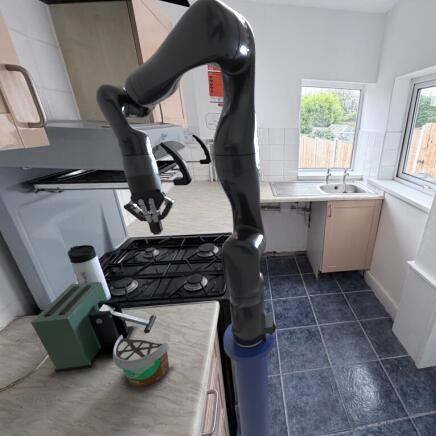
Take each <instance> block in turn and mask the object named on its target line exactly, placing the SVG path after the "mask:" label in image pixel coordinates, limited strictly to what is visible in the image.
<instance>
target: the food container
mask: <svg viewBox="0 0 436 436" xmlns="http://www.w3.org/2000/svg"><path fill="white" fill-rule="evenodd" d="M169 349H170V346H169V345H168V343H167V342H166V340H165V341H164V342H163V343H157V342H152V341H149V340H143V339H131V338H129V339H125V338H123V337H122V335H121V336H120V337H119V338H118V340H117V341H116V343H115V346H114V349H113V357H112V360H113V363H114V365H115V366H116V367H117V368H119V369H120V370H121V369H122V372H123V373H124V375H125V376H126V378H127V380H128V382H129V383H130V385H131V386H133V387H134V388H137V389H142V388H149V387H150V386H152V385H155V384H157V383H158V382H159V381H161V380H162V379H163V378H164V377H165V376H167V374H168V373H169V371H170V364H169V358H168V357H169V355H168V350H169Z"/></svg>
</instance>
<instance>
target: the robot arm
mask: <svg viewBox="0 0 436 436" xmlns="http://www.w3.org/2000/svg"><path fill="white" fill-rule="evenodd" d="M254 33H255V32H254V31H253V28H252V26H251V24H250V22H249V21H248V20H247V18H245V17H244V16H243V15H242V14H241V13H239V12H237V11H236V10H234V9H233V8H232V7H229V6H228V5H227V4H225V3H224V2H223V1H221V0H194V2H193V3H192V4H191V5H189V7H188V8H187V9H186V10H185V12H184V13H183V14H182V15H181V17H180V18H179V19H178V21H177V22H176V24H175V25H174V27H173V28H172V29H171V30H170V32H169V33H168V34H167V36H166V37H165V38H164V39H163V41H162V43H161V44H160V45H159V46H158V48H157V50H156V51H155V52H154V53H153V54H152V55H151V56H150V57H149V58H148V59H147V60H145V62H143V63H141V65H139V66H138V67H137V68H135V69H134V70H133V71H132V72H130V73H129V74H128V75H127V76H126V78H125V79H124V82H123V83H124V84H123V85H124V86H121V85H115V84H108V83H103V84H100V85H99V86H98V87H97V88H96V90H95V103H96V106H97V107H98V110H99V111H100V114H101V116H102V117H103V118H104V120H105V121H106V123H107V125H108V127H109V128H110V130H111V132H112V134H113V135H114V137H115V140H116V142H117V146H118V150H119V153H120V156H121V164H122V169H123V172H124V175H125V180H126V183H127V186H128V189H129V192H130V198H129V199H130V201H128V203H126V204H124V205H123V209H124V210H125V211H127V212H128V213H129V214H131V216H133V217H135V218H136V219H137V220H139V221H140V222H146V223H147V224H148V227H149V231H150V233H151V234H152V235H154V236H156V235H160V234H161V233H162V232H163V231H164V227H163V223H162V220H165V219H166V218H167V217H168V216H169V213H170V212H171V210H172V209H173V207H174V205H175V204H176V200H175V199H173V198H172V199H171V198H169V197H168V196H167V194H166V193H165V192H164V190H163V184H162V181H161V176H160V172H159V167H158V164H157V160H156V158H155V155H154V151H153V148H152V147H153V146H152V142H151V138H150V135H149V134H148V132H147V131H145V130H143V129H140V128H135V127H133V126H132V125H131V123H130V122H129V121H128V120H144V119H146V118H148V117H150V116H151V114H152V113H153V112H154V110H155V109H156V107H157V105H159V104H161V103H163V102H164V101H166V100H167V99H169V98H170V97H171V96H173V95H174V94H175V93H176V92H177V91H178V89H179V87H180V84H181V82H182V78H183V76H184V75H186V74H187V73H188V72H189V71H192V70H195V69H197V68H200V67H203V66H209V67H211V68H215V69H218V70H219V71H220V77H221V78H220V79H221V87H222V105H221V106H222V107H221V112H220V115H219V118H218V121H217V125H216V128H215V132H214V134H213V135H214V136H213V140H212V151H213V159H214V167H215V173H216V177H217V180H218V183H219V185H220V187H221V189H222V191H223V193H224V195H225V197H226V198H227V200H228V202H229V205H230V209H231V215H232V216H231V217H232V232H231V234H230V235H229V237H228V238H227V239H226V240H225V241H224V243H223V244H222V246H221V250H220V261H221V262H220V263H221V267H222V274H223V280H224V283H225V285H226V286H227V288H228V289H227V290H228V298H229V299H228V301H229V309H230V319H231V323H232V329H231V333H232V330H233V341H234V343H235V344H236V345H237V346H238V347H240V348H244V349H250V348H254V347H256V346H258V345H260V344H261V343H262V342H265V341H266V334H270V335H272V334H273V333H274V332H275V333H276V330H277V325H276V324H275V323H274V322H273V319H272V314H266V303H265V300H266V299H265V298H266V297H265V276H264V275H263V273H262V272H261V267H260V266H261V264H260V263H261V259H262V256H263V255H264V253H265V251H266V246H267V238H266V233H265V232H266V231H265V228H264V221H263V217H262V208H261V181H260V158H259V157H260V156H259V145H258V136H257V135H258V134H257V113H256V96H255V95H256V62H257V60H256V59H257V57H256V55H257V49H256V48H257V47H256V46H257V45H256V41H255V34H254ZM163 203H164V204H163ZM163 205H164V206H165V207H164V208H163V210H162V209H161V207H162V206H163ZM161 211H162V212H161Z"/></svg>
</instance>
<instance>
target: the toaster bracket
mask: <svg viewBox="0 0 436 436" xmlns="http://www.w3.org/2000/svg"><path fill="white" fill-rule="evenodd" d="M97 304H98V307H99V309H100V308H101V307H102V305H103V304H104V305H108V306H111V307H115V309H114V311H115V312H119V313H122V314H124V312H123V309H122V306H121V304H120V301H119V299H118V298H116V299H115V298H114V299H109V300H105V301H99V302H98V303H97ZM88 317H89V319H90V322H91V324H92V327H93V329H94V332H95V334H96V336H97V339H98V341H99V344H100V346H101V350H100V352H99V353H98V355H97V356H96V360H102V359H111V358H113V349H114V346H115V343H116V341H117V340H118V338H119V337H120V336H121V335H122V337H123V338H125V339H130V337H131V335H132V333H133V331H134V329H135V327H134V326H133V325H130V326H128V324H127V321H125V320H121V319H117V318H113V317H112V314H111V312H110V310H109V311H99V312H90V313H89V315H88Z"/></svg>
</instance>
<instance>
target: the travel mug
mask: <svg viewBox="0 0 436 436" xmlns="http://www.w3.org/2000/svg"><path fill="white" fill-rule="evenodd" d="M67 256H68V259H69V261H70V264H71V267H72V270H73V272H74V274H75V276H76V280H77V282H78V284H80V283H92V282H101V283H102V286H103V289H104V291H105V294H106V297H107V300H111V297H112V296H111V293H110V292H111V291H110V289H109V287H108V283H107V280H106V278H105V275H104V271H103V269H102V266H101V263H100V260H99V257H98V254H97V253H96V249H95V247H94V245H90V244H83V245H74V246H72V247H70V249H69V250H68V251H67Z"/></svg>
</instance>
